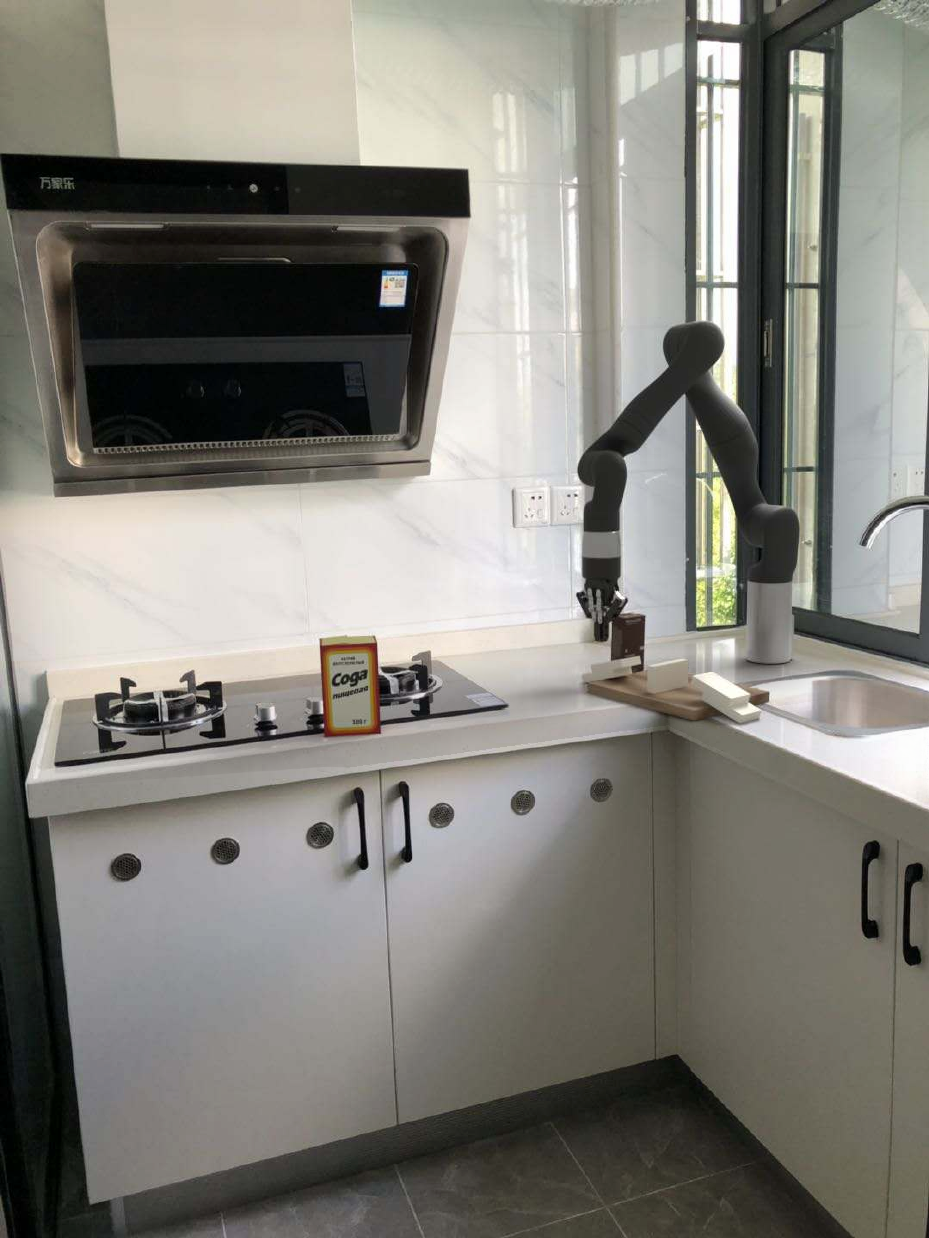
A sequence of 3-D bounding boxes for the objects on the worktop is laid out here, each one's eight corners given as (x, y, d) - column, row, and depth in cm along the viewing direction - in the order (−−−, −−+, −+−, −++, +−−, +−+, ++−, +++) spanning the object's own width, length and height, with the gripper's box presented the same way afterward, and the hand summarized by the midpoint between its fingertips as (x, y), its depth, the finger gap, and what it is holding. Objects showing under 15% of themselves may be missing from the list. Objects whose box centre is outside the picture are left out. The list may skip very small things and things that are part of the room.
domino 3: (681, 684, 192) (647, 692, 187) (681, 658, 191) (647, 665, 186) (687, 685, 191) (653, 693, 186) (688, 659, 190) (653, 666, 185)
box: (624, 675, 209) (624, 617, 206) (609, 671, 212) (609, 614, 210) (646, 671, 212) (646, 614, 210) (631, 667, 215) (631, 611, 213)
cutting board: (660, 676, 207) (660, 667, 207) (769, 701, 185) (769, 691, 185) (587, 691, 196) (587, 682, 195) (693, 720, 174) (693, 710, 174)
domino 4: (692, 675, 179) (731, 698, 172) (712, 671, 182) (750, 694, 175) (690, 683, 180) (728, 707, 173) (709, 679, 182) (748, 702, 176)
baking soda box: (378, 723, 178) (374, 633, 175) (381, 733, 171) (377, 640, 169) (324, 726, 176) (319, 636, 174) (324, 737, 170) (319, 643, 167)
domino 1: (622, 667, 193) (591, 672, 201) (641, 663, 196) (610, 669, 204) (620, 659, 194) (590, 665, 201) (639, 655, 196) (608, 661, 204)
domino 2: (613, 677, 196) (583, 682, 203) (632, 673, 199) (602, 678, 206) (611, 669, 196) (582, 674, 203) (630, 665, 199) (600, 670, 206)
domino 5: (703, 691, 177) (742, 715, 171) (722, 686, 180) (761, 710, 174) (701, 699, 178) (740, 723, 171) (720, 694, 181) (759, 718, 174)
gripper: (639, 555, 195) (638, 643, 198) (592, 550, 206) (592, 634, 209) (610, 558, 191) (610, 648, 194) (564, 553, 201) (564, 638, 204)
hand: (601, 641), depth 201 cm, fingers closed
